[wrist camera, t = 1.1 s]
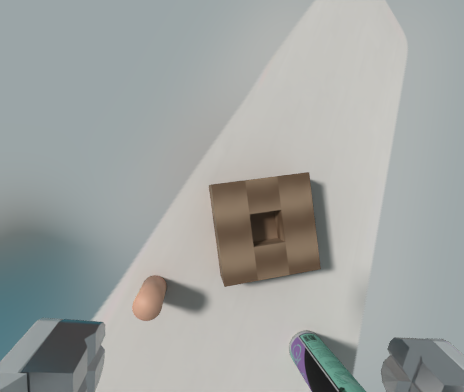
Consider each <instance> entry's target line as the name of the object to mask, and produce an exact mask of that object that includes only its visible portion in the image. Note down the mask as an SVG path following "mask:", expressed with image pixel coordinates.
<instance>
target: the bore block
mask: <svg viewBox="0 0 464 392" xmlns="http://www.w3.org/2000/svg"><path fill="white" fill-rule="evenodd" d="M209 191H210V198H211V206H212V213H213V221H214V228H215V236H216V243H217V251H218V258H219V266H220V273H221V278H222V280H223V283H224V286H225V287H226V286H231V285H237V284H242V283H248V282H253V281H259V280H264V279H270V278H275V277H281V276H286V275H291V274H297V273H302V272H308V271H313V270H319V269H321V268H320V260H319V251H318V243H317V235H316V226H315V218H314V210H313V201H312V193H311V185H310V176H309V172H307V173H300V174H292V175H284V176H276V177H268V178H261V179H253V180H245V181H237V182H229V183H221V184H214V185H209Z"/></svg>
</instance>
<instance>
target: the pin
mask: <svg viewBox="0 0 464 392" xmlns="http://www.w3.org/2000/svg"><path fill="white" fill-rule="evenodd" d="M166 289H167V284H166V282H165V280H164V279H163V278H162V277H160V276H150V277H148V278H147V279H146V280H145V281H144V283H143V285H142V287H141V289H140V291H139V293H138V294H137V296H136V298H135V300H134V302H133V306H132V309H133V313H134V315H135V316H136V317H137V318H138V319H140V320H143V321H149V320H152V319H154V318H156V317H157V316H158V315H159V313H160V311H161V308H162V304H163V300H164V297H165V293H166Z"/></svg>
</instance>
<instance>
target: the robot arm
mask: <svg viewBox="0 0 464 392" xmlns="http://www.w3.org/2000/svg"><path fill="white" fill-rule="evenodd" d="M104 337H105V324H104V322H97V321H84V320H70V319H53V318H42V319H40V320H38V321H36V322H35V323H34V325H33V326H32V327H31V328H30V329H29V330H28V331H27V333H26V334H25V335H24V336H23V337H22V338H21V339H20V340H19V341H18V343H17V344H16V345H15V346H14V347H13V348H12V349H11V351H10V352H9V353H8V354H7V355H6V356H5V357H4V358H3V360H2V361H1V362H0V392H95V390H96V388H97V385H98V383H99V380H100V377H101V373H102V369H103V364H104V357H105V349H104V348H103V347H102V346H101V343H102V341H103V339H104ZM388 351H389V353H390V356H389V357H388V358H387V359H386V360H385V361H384V362H383V366H382V369H381V375H382V381H383V384H384V387H385V389H386V391H387V392H464V355H463V354H462V353H461V352H460V351H459V350H458V349H457V348H455V347H454V346H453V345H452V344H451V343H450V342H448V341H446V340H443V339H416V338H415V339H414V338H393V339H392V340H391V341H390V343H389V346H388Z"/></svg>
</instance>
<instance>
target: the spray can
mask: <svg viewBox="0 0 464 392" xmlns="http://www.w3.org/2000/svg"><path fill="white" fill-rule="evenodd" d="M289 353H290V356H291V358H292V359H293V361H294V363H295V364H296V366H297V368H298V369H299V371H300V373H301V374H302V376H303V378H304V379H305V381H306V383H307V384H308V386H309V388H310V389H311V391H312V392H366V391H365V390H364V389H363V388H362V386H360V384H359V383H358V382H357V381H356V380H355V378H354V377H353V376H352V375H351V374H350V373H349V371H348V370H347V369H346V368H345V367H344V366H343V365H342V363H341V362H340V361H339V360H338V359H337V358H336V357H335V355H334V354H333V353H332V352H331V351H330V350H329V349H328V347H327V346H326V345H325V344H324V343H323V342H322V340H321V339H320V338H319V337H318V336H317V335H316V334H315V333H313V332H311V331H301V332H299V333H297V334H296V335H295V336H294V337H293V338H292V340H291V342H290V345H289Z"/></svg>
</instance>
